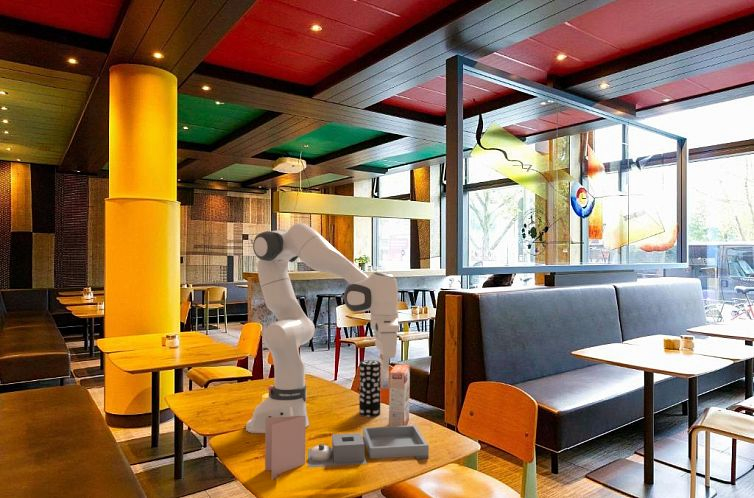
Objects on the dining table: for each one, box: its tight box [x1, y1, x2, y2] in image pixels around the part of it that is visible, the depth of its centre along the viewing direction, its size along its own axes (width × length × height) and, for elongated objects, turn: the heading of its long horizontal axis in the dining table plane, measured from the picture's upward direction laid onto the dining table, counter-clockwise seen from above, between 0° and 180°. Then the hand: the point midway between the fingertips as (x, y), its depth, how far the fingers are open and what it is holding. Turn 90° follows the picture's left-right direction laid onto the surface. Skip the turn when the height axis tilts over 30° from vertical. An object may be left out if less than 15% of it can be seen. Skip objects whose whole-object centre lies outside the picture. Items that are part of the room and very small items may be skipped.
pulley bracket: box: [307, 432, 367, 468], centre depth 146 cm, size 17×13×6 cm
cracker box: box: [388, 364, 411, 426], centre depth 176 cm, size 14×6×21 cm, turn 168°
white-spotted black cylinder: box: [358, 359, 381, 418], centre depth 190 cm, size 8×8×20 cm
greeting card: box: [264, 416, 306, 480], centre depth 137 cm, size 11×7×15 cm, turn 100°
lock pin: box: [378, 354, 390, 389], centre depth 153 cm, size 4×4×10 cm
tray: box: [362, 424, 430, 460], centre depth 154 cm, size 18×18×4 cm
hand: (384, 366), depth 153 cm, fingers closed on lock pin, 2 cm apart
